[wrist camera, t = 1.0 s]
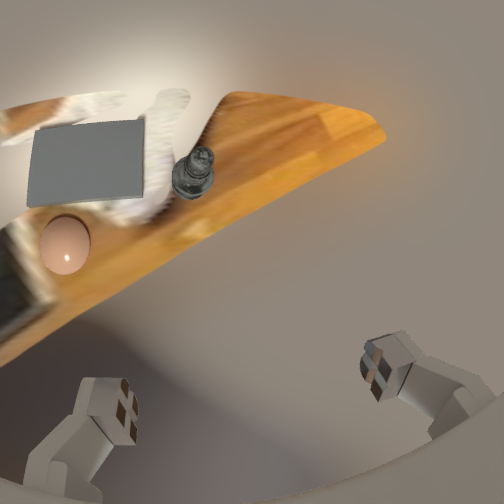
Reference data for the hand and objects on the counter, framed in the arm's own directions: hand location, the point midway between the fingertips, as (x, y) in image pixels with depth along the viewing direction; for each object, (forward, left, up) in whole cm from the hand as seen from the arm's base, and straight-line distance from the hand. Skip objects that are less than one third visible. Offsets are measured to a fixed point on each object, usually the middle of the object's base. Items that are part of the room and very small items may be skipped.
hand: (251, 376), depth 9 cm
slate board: (-12, +20, -33) cm, 41 cm away
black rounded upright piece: (+4, +16, -33) cm, 37 cm away
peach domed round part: (-15, +8, -34) cm, 38 cm away
